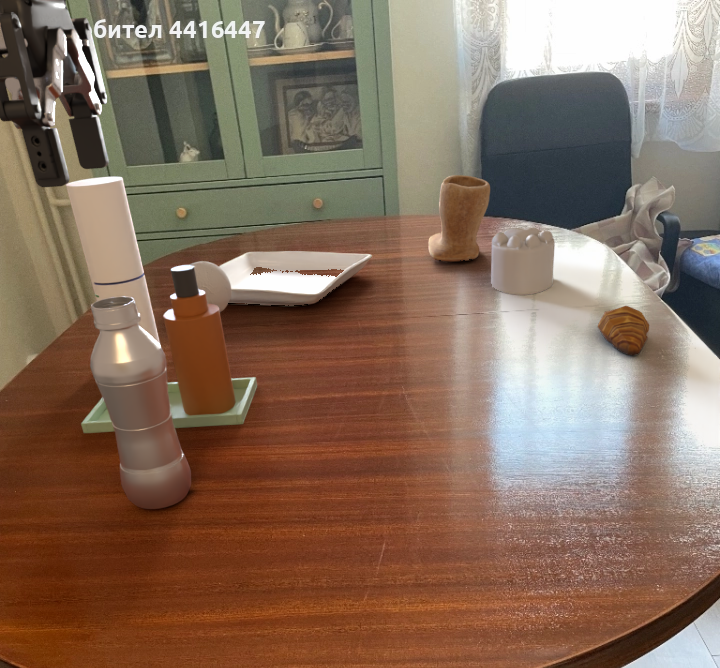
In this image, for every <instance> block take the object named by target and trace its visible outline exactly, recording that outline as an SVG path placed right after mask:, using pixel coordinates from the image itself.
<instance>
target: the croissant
mask: <svg viewBox="0 0 720 668" xmlns="http://www.w3.org/2000/svg"><path fill="white" fill-rule="evenodd" d="M597 328H598V330H599V331H600V333H601V334H602V336H603V337H604V339H605V340H606V342H608V343H609V344H610V345H612V346H613V348H614V349H616V350H618V351H619V352H620V353H623V354H625V355H629V356H638V355H639V354H640V353H641V351H642V350H643V347H644V346H645V344H646V342H647V340H648V338H649V337H648V333H649V331H650V322H649V321H648V320H647V319H646V317H645V314H644V313H643V311H640V310H639V309H636V308H634V307H631V306H629V305H624V306H621V307H618V308H614V309H609V310H606V311H604V312H603V314H602V316H601V318H600V320H599V322H598V324H597Z"/></svg>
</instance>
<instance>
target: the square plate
mask: <svg viewBox="0 0 720 668" xmlns="http://www.w3.org/2000/svg"><path fill="white" fill-rule="evenodd" d="M372 258H373V255H372V254H369V253H348V252H347V253H346V252H332V251H331V252H328V251H306V250H305V251H301V250H300V251H299V250H298V251H297V250H295V251H294V250H293V251H291V250H287V251H283V250H281V251H249V252H246V253H243V254H242V255H239V256H237V257H235V258H233V259H231V260H228V261H226V262H224V263H223V264H220V265H219V267H220V268H221V269H222V270H223V271H224V272H225V273H226V275H227V277H228V279H229V281H230V284H231V297H230V300H229V303H245V304H244V305H248V304H260V305H259V306H271V305H285V306H284V307H295V306H294V305H302V306H305V305H304V304H308V305H313V304H316V303H318V302H319V300H320V299H321V300H323V299H324V298H325V297H326V296H328V295H329V294H330V293H332V292H333V291H334V290H335V289H337V288H338V287H340V286H341V285H343V284H344V283H345V282H347V281H348V280H349V279H350V278H352V277H354V276H355V275H356V274H357V273H359V272H361V270H362V269H364V267H365V266H367V264H368V263H369V261H370V260H371V259H372ZM256 267H262V268H267V269H268V268H269V269H271V270H273V269H274V270H277V271H273V272H272V271H271V273H270V272H268V273H267V272H266V273H265V272H263V273H261V275H260V274H258V273H257V275H256V274H254V275H253V274H251V273H252V272H253V270H254V268H256ZM328 269H329V270H331V269H337V270H340V269H341V270H344V271H343V272H342V273H340V274H339V275H338V276H337V277H335V276H331V275H330V276H329V275H327V276H326V275H323V276H321V275H317V274H315V275H314V274H313V275H307V274H306V275H304V274H303V275H302V274H300V273H298V272H295V271H296V270H298V271H300V270H328ZM280 270H281V271H280ZM286 270H288V271H289V272H288V273H287V272H285V271H286ZM282 271H284V272H283V273H282ZM290 271H293V272H290ZM250 274H251V275H250ZM328 276H329V277H328ZM340 284H341V285H340ZM336 287H337V288H336ZM333 289H334V290H333ZM332 290H333V291H332ZM329 292H330V293H329ZM328 293H329V294H328ZM327 294H328V295H327ZM323 297H324V298H323ZM321 300H320V301H321ZM246 303H247V304H246ZM288 305H289V306H288Z"/></svg>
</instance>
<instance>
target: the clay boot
mask: <svg viewBox="0 0 720 668" xmlns="http://www.w3.org/2000/svg"><path fill="white" fill-rule="evenodd" d="M490 194H491V185H490V183H489V182H488V181H487V180H485V179H482V178H478V177H476V176H471V175H463V174H453V175H449V176H447V177H445V178H444V179H443V181H442V183H441V185H440V191H439V201H438V212H439V218H440V226H441V232H438V233H437V232H436V233H435V234H432V235H431V236H430V237H429V238H428V244H427V245H428V253H429V255H430V257H431V258H432V259H434V260H435V261H439V260H441V261H440V262H464V261H463V260H465V261H470V260H469V259H472V260H475V259H476V258H477V257H478V256H479V254H480V245H479V244H478V242H477V236H478V232H479V231H480V230H479V229H480V226H481V224H482V222H483V219H484V216H485V214H486V213H487V209H488V207H489V203H490ZM460 260H461V261H460Z"/></svg>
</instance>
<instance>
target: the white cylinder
mask: <svg viewBox="0 0 720 668" xmlns="http://www.w3.org/2000/svg"><path fill="white" fill-rule="evenodd" d="M189 265H192V266H194V269H195V274H196V279H197V285H198V290H203V291H205V293H206V299H207V303H208V304H214V305H216V306H218V307H219V312H220V313H221V312H223V311H224V310H225V309H226V308H227V306H228V305H229V304H228V303H229V300H230V297H231V284H230V281H229V279H228V277H227V275H226V273H225V272H224V271H223V270H222V269H221V268H220V267H219V266H220V265H219V266H218V265H217V264H215V263H214V262H209V261H205V260H204V261H203V260H201V261H195V262H192V263H190V264H189Z"/></svg>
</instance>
